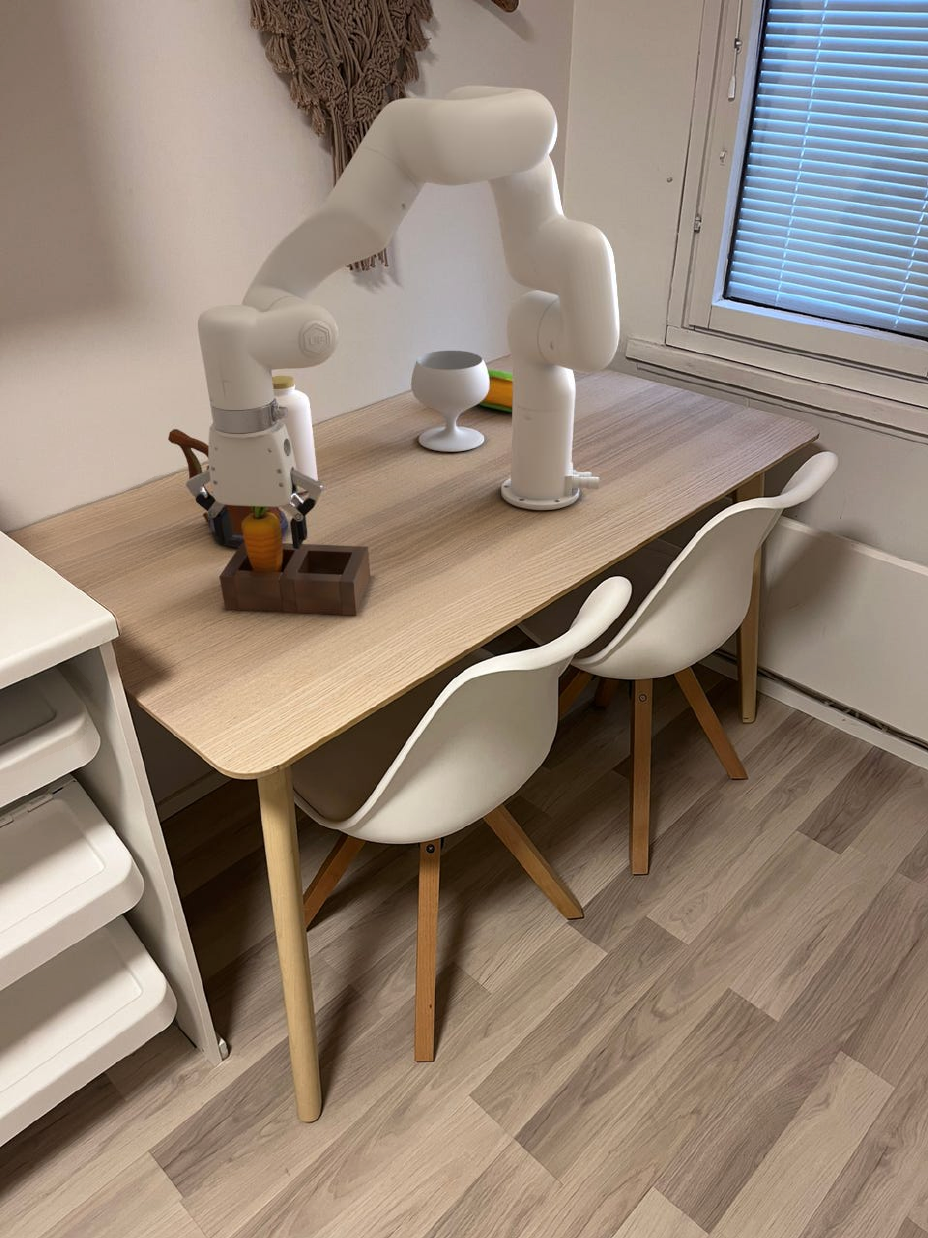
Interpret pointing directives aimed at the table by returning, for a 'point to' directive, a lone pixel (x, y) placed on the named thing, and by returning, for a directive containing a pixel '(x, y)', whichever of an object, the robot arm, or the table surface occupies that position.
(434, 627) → the table surface
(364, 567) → the holder
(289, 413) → the white bottle
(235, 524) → the mug
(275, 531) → the carrot
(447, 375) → the chalice
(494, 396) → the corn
